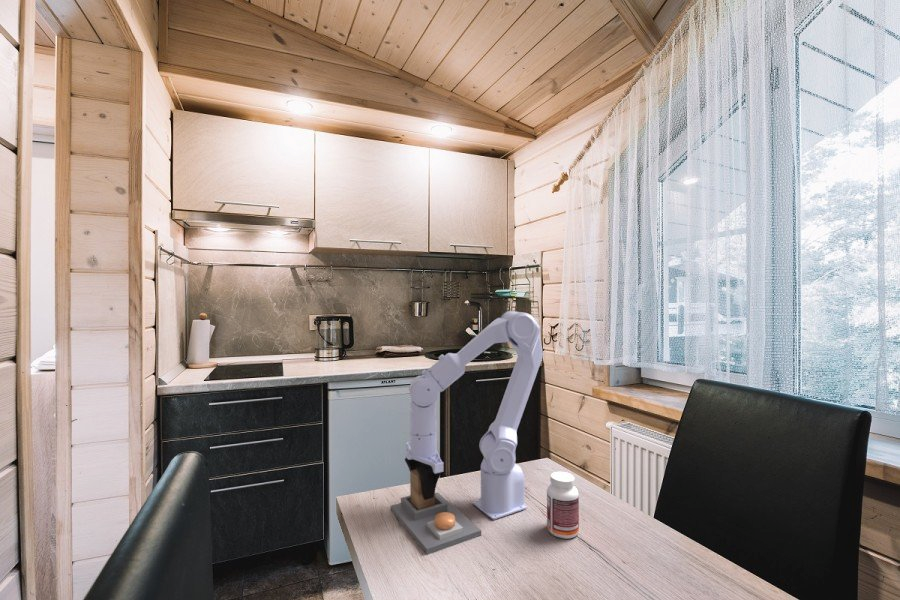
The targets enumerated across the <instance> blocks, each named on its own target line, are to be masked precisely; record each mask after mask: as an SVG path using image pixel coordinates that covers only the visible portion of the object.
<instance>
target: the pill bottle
mask: <svg viewBox="0 0 900 600" xmlns="http://www.w3.org/2000/svg"><path fill="white" fill-rule="evenodd" d="M575 479H576V477H575V476H574V475H573V474H572V473H569V472H565V471H554V472H552V473H551V474H550V479H549V480H550V484H549V485H548V486H547V488H546V518H547V519H546V527H547V531H548V532H549V533H550V534H551V535H552V536H555V537H557V538H559V539H565V540H568V539H573V538H575V537H577V536H578V534H579V533H580V523H579V521H580V519H579V517H580V514H579V511H580V510H579V508H580V507H579V506H580V505H579V504H580V503H579V502H580V501H579V498H580V497H579V495H580V494H579V491H578V489H577V487H576V486H575V483H576V482H575Z"/></svg>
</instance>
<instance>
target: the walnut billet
mask: <svg viewBox="0 0 900 600" xmlns="http://www.w3.org/2000/svg"><path fill="white" fill-rule="evenodd" d="M409 475H410V476H409V479H410V481H409V483H410V485H409V486H410V491H409V492H410V494H409V495H411V503H412V504H413V505H414V507H415V508H416V509H417V510H421V509H425V508H428V507H432V506H435V493H436V492H435V493H434V496H433V498H430V499H427V500H425V499H424V498H423V494H422V485H421V480H420V477H419V474H418V472H417V470H412V471H410V470H409Z"/></svg>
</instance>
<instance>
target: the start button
mask: <svg viewBox="0 0 900 600" xmlns="http://www.w3.org/2000/svg"><path fill="white" fill-rule="evenodd" d="M454 525H455V516H454V515H453V514H452V513H448V512H442V513H439V514H437V515H436V516H435V526H436V527H438V528H440V529H450V528H452V527H453V526H454Z"/></svg>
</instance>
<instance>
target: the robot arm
mask: <svg viewBox="0 0 900 600" xmlns="http://www.w3.org/2000/svg"><path fill="white" fill-rule="evenodd" d="M537 322H538V321H536V319H535V318H534V317H533V316H532V315H531V314H529V313H527V312H520V311H519V312H518V311H515V310H510V311H506V312H504V313H503V314H502V315H501V317H497V318H496V319H494V320H493V321H491V323H490V324H488V325H487V326H486V327H485V328H484V329H482V330H481V331H480V332H479V333H478V334H477V335H476V336H474V337H473V338H472V339H471V340H470V341H469V342H467V344H465V346H463V347H462V348H461V349H460V350H459V351H458V352H456V353H453V352H448V353H446V354H445V355H444V354H443V353H442V354H440V355H439V356H438V361H437V362H435V363H434V364H433V365H432V366H430V367H429V368H428V369H423V370H422V371H421V375H418V376H416V377H414V378H413V379H412V380H411V383H410V385H409V387H408V389H409V390H408V391H409V395H410V398H411V401H410V412H409V413H410V414H409V420H410V423H409V425H410V426H409V428H410V430H409V434H410V436H409V437H410V441H407V442H406V443H405V451H406V453H405V458H404V461H405V463H406V465H407V467H408V471H409V472H410V471H412V470H417V472H418V474H419V477H420V480H421V485H422V494H423V498H424V499H425V500H427V499H430V498H433V496H434V493H436V488H437V484H438V481H439V478H440V476H441V474H442V473H443V472H444V461H442V459H441V457H440V454H439V451H438V450H437V442H438V441H437V438H438V437H437V409H436V401H437V400H438V397H439V393H442V392H444V391H445V390H446V389H447V388H449V387H450V386H451V385H453V383H454V382H455V381H457V380H459V378H461V377H462V376H463V375H464V374H465V371H466V366H467V364H469V363H471V361H473V360H474V359H476V358H477V357H479V356H480V354H483V352H485V351H486V350H488V349H489V348H490V347H491V346H493V345H495V344H499V343H500V344H501V343H511V345H512V347H513V349H514V351H515V352H516V354H517V358H516V361H515V363H514V367H513V369H512V373H511V374H510V377H509V380H508V383H507V386H506V389H505V392H504V394H503V398H502V400H501V403H500V406H499V408H498V410H497V411H498V412H497V414H496V417H495V420H494V421H493V422H492V423H491V424H490V425H489V427H488V430H487V431H486V432H485V433H484V435H482V437H481V438H480V440H479V445H478V447H479V451H480V452H481V454H482V456H483V459H482V460H481V461H482V462H481V464H480V499H477V500H474V501H473V503H472V504H473V505H474V506H475V507H477V509H479V510H480V511H481V512H482V513H484V514H485V515H486V516H487V517H488V518H490V519H491V520H497V519H500V518H503V517H506V516H508V515H511V514H514V513H517V512H520V511H523V510H526V509H527V508H528V506H527V505H526V504H525V499H526V497H525V495H526V494H525V491H526V490H525V486H526V485H525V475H524V472H523V470H522V468H521V467H520V465H519V464H518V463H516V460H517V458H516V457H517V456H516V449H517V446H518V435H517V432H518V428H519V425H520V423H521V419H522V418H523V414H524V411H525V408H526V405H527V402H528V400H529V397H530V394H531V392H532V389H533V386H534V382H535V380H536V377H537V374H538V372H539V368H540V366H541V363H542V361H543V357H544V351H543V347H542V339H541V336H540V335H541V327H540V325H539V324H538V323H537Z"/></svg>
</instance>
